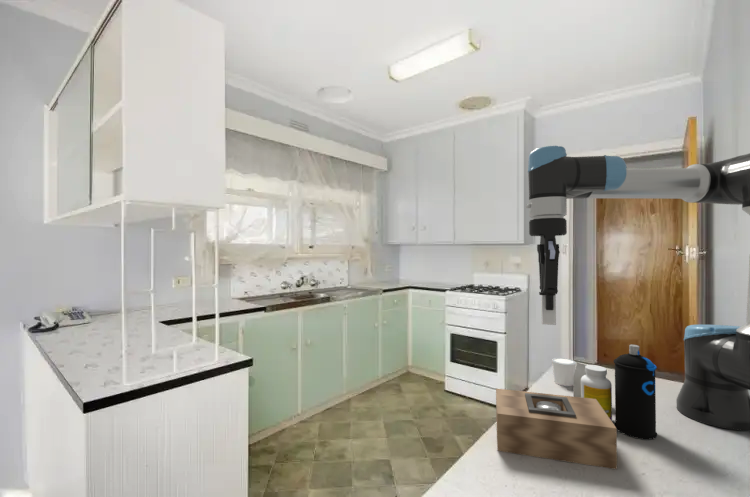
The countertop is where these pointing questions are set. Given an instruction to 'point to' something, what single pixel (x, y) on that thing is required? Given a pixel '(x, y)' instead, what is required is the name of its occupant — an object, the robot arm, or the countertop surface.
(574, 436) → the socket block
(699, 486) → the countertop surface
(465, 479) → the countertop surface
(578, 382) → the grey boxy piece
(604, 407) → the supplement bottle
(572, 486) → the countertop surface
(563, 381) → the white cup
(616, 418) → the aerosol can
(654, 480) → the countertop surface
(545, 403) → the peg
